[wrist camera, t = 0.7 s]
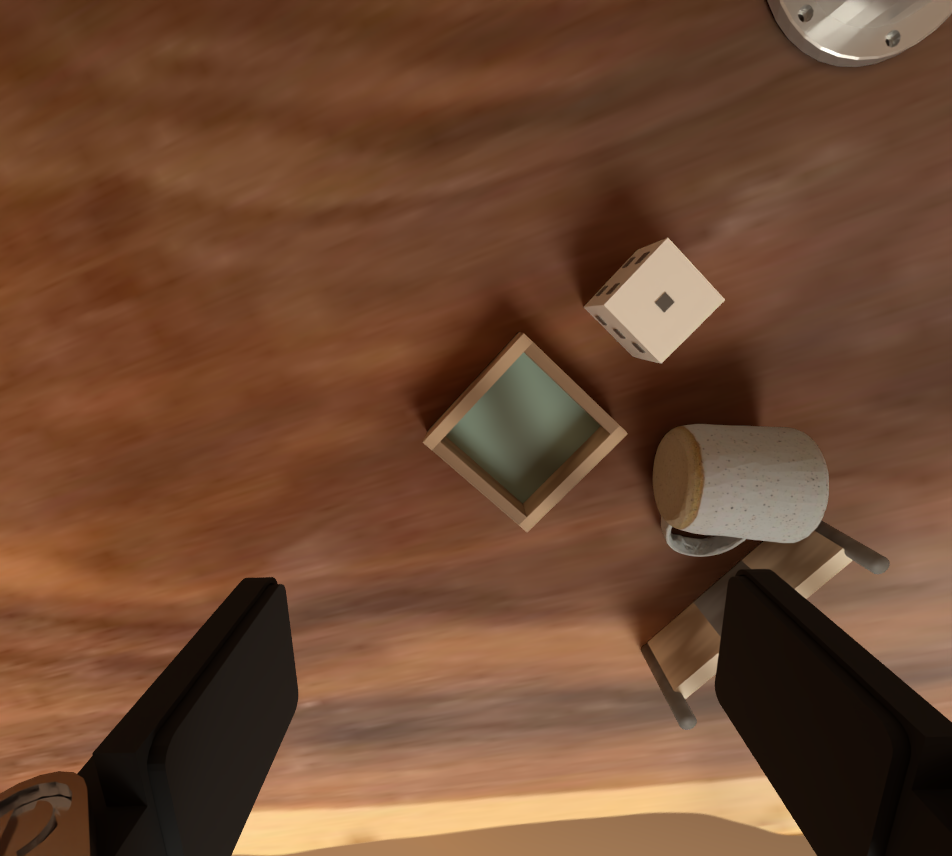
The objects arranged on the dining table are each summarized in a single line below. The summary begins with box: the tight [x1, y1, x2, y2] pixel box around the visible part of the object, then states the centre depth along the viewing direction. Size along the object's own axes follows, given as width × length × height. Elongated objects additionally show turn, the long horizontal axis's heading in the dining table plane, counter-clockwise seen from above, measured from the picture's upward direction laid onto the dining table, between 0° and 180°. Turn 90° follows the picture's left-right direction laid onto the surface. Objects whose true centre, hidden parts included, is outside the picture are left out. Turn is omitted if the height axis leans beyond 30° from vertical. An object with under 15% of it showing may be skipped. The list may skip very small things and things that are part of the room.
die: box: [584, 238, 725, 363], centre depth 29 cm, size 5×5×5 cm
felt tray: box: [423, 332, 628, 532], centre depth 32 cm, size 10×10×3 cm
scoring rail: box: [641, 521, 889, 730], centre depth 33 cm, size 17×1×7 cm, turn 137°
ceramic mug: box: [653, 424, 829, 557], centre depth 31 cm, size 11×8×8 cm
